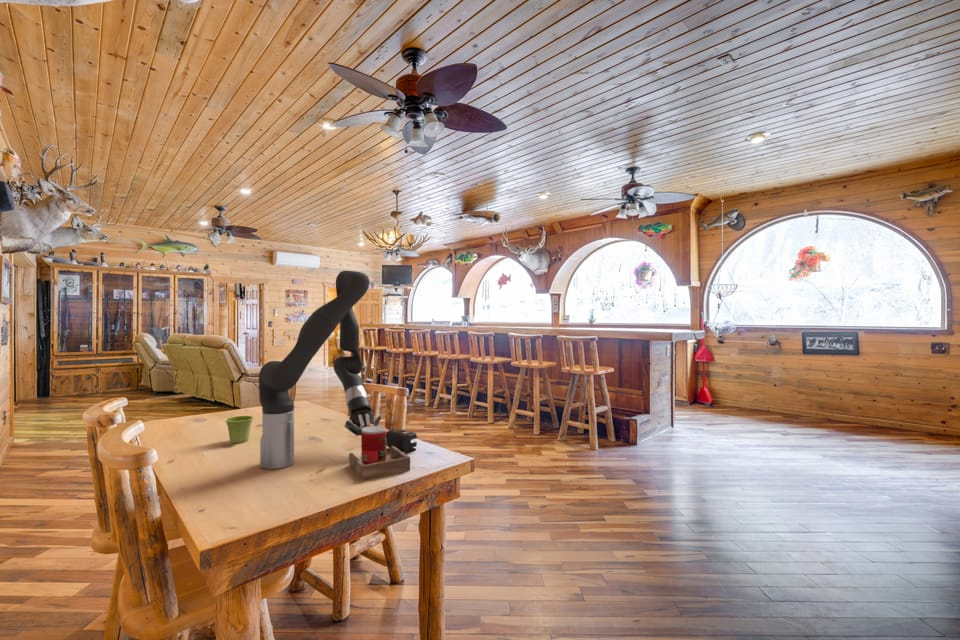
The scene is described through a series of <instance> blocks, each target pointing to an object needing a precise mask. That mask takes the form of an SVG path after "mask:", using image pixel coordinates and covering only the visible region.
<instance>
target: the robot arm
mask: <svg viewBox="0 0 960 640" xmlns="http://www.w3.org/2000/svg"><path fill="white" fill-rule="evenodd" d="M370 283H371V282H370V277H369V275H368V274H366V273H365V272H362V271H355V270H342V271H340V272H339V273H338V274H337V276H336V279H335V293H336V297H334V298H333V299H331V300H330V301H329V302H326V303H325V304H322V306H320V307H318V308H317V309H316V310H315V311H314V312H312V314H310V316H309V317H308V318H307V319H306V321H305V322H304V323H303V325H302V326H301V328H300V330H299V332H298V333H299V334H298V337H297V340H296V343H295V345H294V347H293V349H291V351H290V352H289V353H288V354H287V356H285V357H284V359H282V360H281V361H279V360H270V361H268V362H266V363H264V365H263V366H261V368H260V371H259V375H258V393H259V395H258V396H259V402H260V405H261V407H262V409H261V410H262V411H261V412H262V420H261V421H262V423H261V424H262V436H261V437H260V440H259V441H260V442H259V443H260V444H259V445H260V454H259V455H260V457H259V458H260V463H259V465H260V468H261V469H266V470H267V469H269V470H277V469H283V468H286V467H287V468H288V467H290V466H292V465H293V464H294V463H295V403H294V401H293V399H292V398H291V397H290V394H289V391H290V390H291V389H292V388H294V386H295V385H297V383H298V382H299V380H300V379H301V377H302V375H303V373H304V372H305V370H306V368H307V367H308V366H309V364H310V362H311V361H312V359H313V358H314V357H315V355H316V354H317V353H318V352H319V351H320V349H321V348H322V347H323V345H324V344H325V342H326V341H327V340H328V339H329V338H330V336H331V335H332V333H334V331H335V330H336V328H337V327H338V325H339V349H340V350H341V351H343V352H348V353H349V352H350V353H351V354H352V355H351V356H339V357H336V358H335V360H334V361H333V366H332V367H333V371H334V373H335V374H336V376H337V377H338V379H339V381H340V383H341V385H342V386H343V390H344V391H343V392H344V394H345V402H346V403H345V404H346V405H347V409H348V414H349V419H348V420H346V421H345V423H344V428H346V429H347V430H348V431H349V432H351V433H352V434H353V435H354V436H356V437H358V436H361V432H362V429H363V428H365V427H369V426H371V423H372V421H373V423H374V424H373V425H372V426H379V423H380V421H381V420H382V417H381V416H376V415H375V414H374V413H373V411H372V407H371V404H370V400H369V397H368V393H367V391H366V388H365V385H364V384H365V383H364V381H363V378H362V376H361V375H359V374H360V373H361V372H362V371H363V366H364V364H363V359H362V357H361V353H360V345H359V343H360V326H359V323H358V319H357V317H356V315H355V312H354V308H353V307H354V306H355V305H356V304H357V303H358V302H359V301H360V300H361V299H362V298H363V297H364V295H366V293H367V291H368V289H369V288H370ZM288 390H289V391H288Z"/></svg>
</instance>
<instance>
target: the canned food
mask: <svg viewBox="0 0 960 640" xmlns="http://www.w3.org/2000/svg"><path fill="white" fill-rule="evenodd" d="M386 433H387V427H385V426H382V425H378V426H373V425H370V426H369V427H365V428H363V429H362V432H361V440H360V441H361V462H362V463H363V464H364V465H367V464H372V463H378V462H383V461H387V446H386Z"/></svg>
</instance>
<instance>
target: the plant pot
mask: <svg viewBox="0 0 960 640" xmlns="http://www.w3.org/2000/svg"><path fill="white" fill-rule="evenodd" d="M253 419H254V416H252V415H236V416H230V417H227V418H225V419H224V422H226V426H227V431H228V436H229V437H228V438H229V442H230V443H232V444H234V443H237V444H241V442H242V443H245V442H247V441H249V438H250V432H251V426H252V425H251V424H252V422H253Z"/></svg>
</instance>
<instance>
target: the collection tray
mask: <svg viewBox="0 0 960 640" xmlns="http://www.w3.org/2000/svg"><path fill="white" fill-rule="evenodd" d="M348 467H350V469H351V470H352V471H353V470H354V473H355V474H356V475H357V476H358V477H359V478H360V479H361V480H362V481H365V480H369V479H370V478H371V479H374V477H375V478H380V477H384V476H383V475H385V476H389V475H388V474H390V475H393V473H394V474H399V473H403V471H404V472H407V470H409V471H411V457H410V456H409V455H407V453H405V452H402V451H400V450H399V449H398V448H396V447H395V446H391V448H390V459H388V460H386V461H383V462H378V463H372V464H367V465H364V464H363V463H362V460H361V459H359V457H358V456H356V455H355V454H354V453H353V452H350V453H348ZM398 472H399V473H398ZM379 476H380V477H379Z"/></svg>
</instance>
